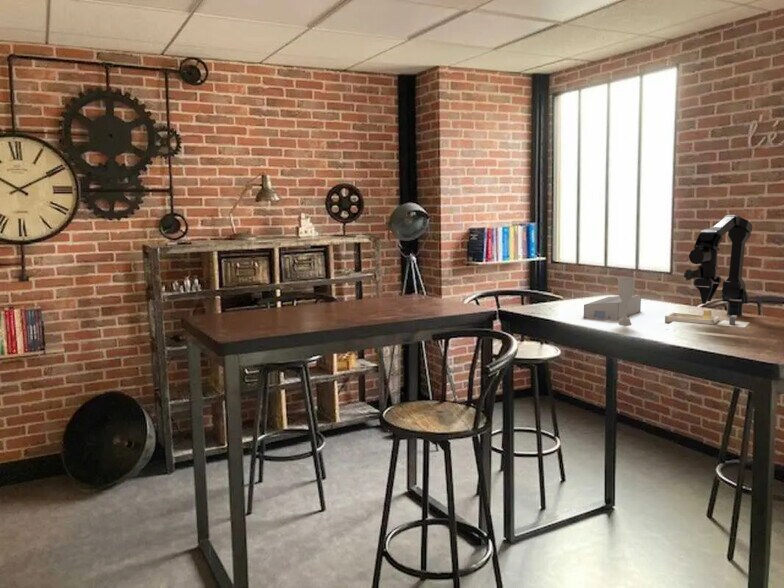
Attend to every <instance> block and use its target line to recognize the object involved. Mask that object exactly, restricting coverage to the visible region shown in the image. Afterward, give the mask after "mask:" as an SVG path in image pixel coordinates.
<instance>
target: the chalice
mask: <svg viewBox="0 0 784 588" xmlns="http://www.w3.org/2000/svg"><path fill="white" fill-rule="evenodd" d="M616 279H617V282H618V283H617V292H618V296H620V298H621V300H622V301H623V302H624V311H623V312H624V317H623V318H621V319H620V320H618V322H617V323H618V325H621V326H631V325H632V322H631V319H630V318H629V317H628V316H627V315H626V314H627V302H629V301H630V299H631V298H632V296H633V295H634V293H635V287H636V286H635V285H636V283H635V282H636V280H637V278H635V277H617V278H616Z"/></svg>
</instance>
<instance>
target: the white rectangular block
mask: <svg viewBox="0 0 784 588" xmlns="http://www.w3.org/2000/svg"><path fill="white" fill-rule="evenodd" d="M737 318H738V316H737V315H732V316H729V320H724V319H723V320H721V321H719V322H718V323H717V324H716V326H724V327H734V328H746V327H747V326H748V325H749V324H750V323H751V322H749V321H739V320H738V321H737V320H736V319H737Z"/></svg>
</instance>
